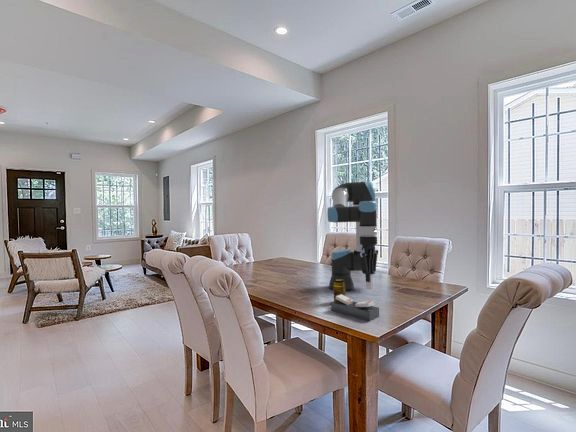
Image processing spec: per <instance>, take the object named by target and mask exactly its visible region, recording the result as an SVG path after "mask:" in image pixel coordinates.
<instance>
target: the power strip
mask: <svg viewBox="0 0 576 432" xmlns="http://www.w3.org/2000/svg"><path fill="white" fill-rule="evenodd" d="M356 303H358V302H356V301H353V303H351V304H349V305H346V304H345V303H343V302H341V301H339V300H336V301H334V300H333V301H331V302H330V303H329V306H330V311H332V312H334V311H335V312H334V313H338V314H341V313H342V314H341V315H344V316H345V315H346V316H350V317H353V318H356V319H360V320H363V319H364V321H367V320H368V322H372V321H374V320H375V319H378V318H379V317H380V307H378V306H374V305H372V306H370V307H356V306H355V304H356ZM371 320H372V321H371Z"/></svg>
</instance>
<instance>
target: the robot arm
mask: <svg viewBox="0 0 576 432" xmlns="http://www.w3.org/2000/svg"><path fill="white" fill-rule="evenodd" d="M374 186H375V185H374V183H373V182H371V181H357V182H356V181H355V182H353V181H352V182H344V183H341V184H340V185H337V186H336V187H335V188H334V189H333V190H332V193H331V199H332V206H330V207H329V206H328V208H327V212H326V213H327V221H328V222H329V223H355V238H356V239H355V242H356V243H355V244H356V245H355V247H354V248H353V251H351V250H350V249H347V248H346V249H337V250H335V251H332V252H331V259H330V260H331V276H330V279H329V283H328V284H329V285H328V288H329V289H330V290H332V291H334V280H335V279H343V280H344V283H345V292H346V291H351V290H354V289H355V283H354V280H353V278H352V273H351V272H362V274H363V275H365V289H367V290H374V275H376V270H377V262H378V255H379V250H378V249H376V245H377V244H378V236H377V235H378V227H377V226H378V223H377V222H378V221H377V216H378V215H377V213H378V212H377V209H378V207H377V202H376V191H375V187H374ZM348 203H352V206H348Z"/></svg>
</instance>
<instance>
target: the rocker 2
mask: <svg viewBox="0 0 576 432" xmlns="http://www.w3.org/2000/svg"><path fill="white" fill-rule="evenodd" d="M374 305H375V303H374V301H373V300H372V301H371V300H370V301H358V302H357V303H356V304H355V306H356V307H370V306H374Z"/></svg>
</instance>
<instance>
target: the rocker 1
mask: <svg viewBox="0 0 576 432" xmlns="http://www.w3.org/2000/svg"><path fill="white" fill-rule="evenodd" d="M336 299H337V300H339V301H341V302H343V303H345V304H346V305H349V304H351V303H353V302H354V299H351V297H350V298H349V297H348V296H346V295H345V296H344V295H342V294H341V295H338V296H336Z"/></svg>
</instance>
